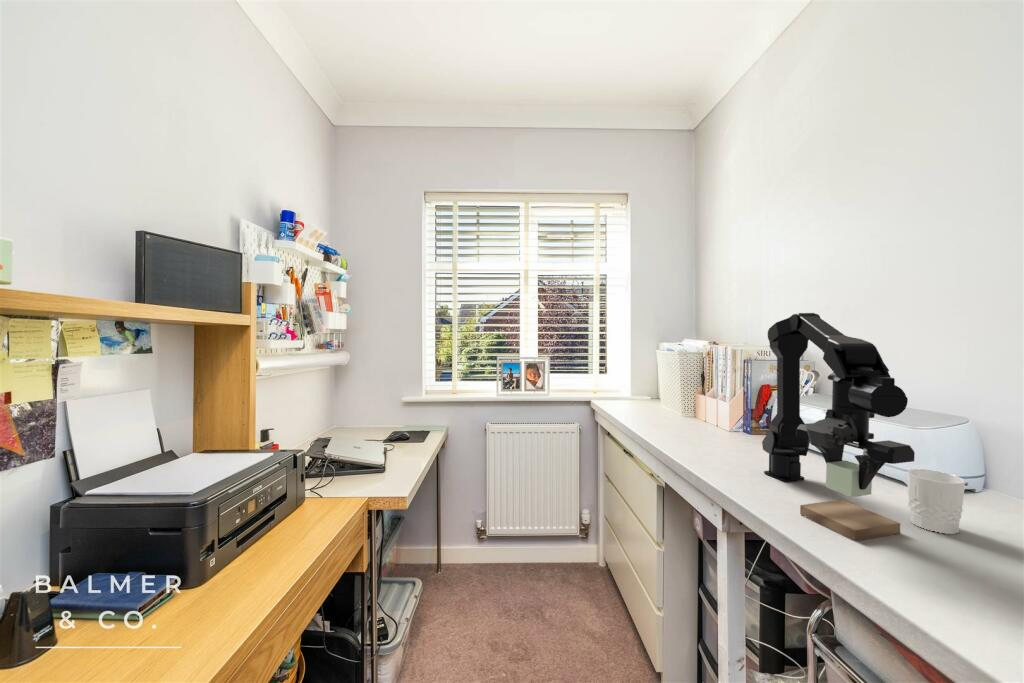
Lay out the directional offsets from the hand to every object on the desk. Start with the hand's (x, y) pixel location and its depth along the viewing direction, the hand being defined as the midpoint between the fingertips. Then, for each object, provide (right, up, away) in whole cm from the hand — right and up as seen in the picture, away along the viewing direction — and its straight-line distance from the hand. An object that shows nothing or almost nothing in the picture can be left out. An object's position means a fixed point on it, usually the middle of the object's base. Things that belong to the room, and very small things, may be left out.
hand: (848, 484), depth 83 cm
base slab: (0, -8, 0) cm, 8 cm away
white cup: (+16, -8, -1) cm, 18 cm away
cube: (0, -1, 0) cm, 1 cm away
